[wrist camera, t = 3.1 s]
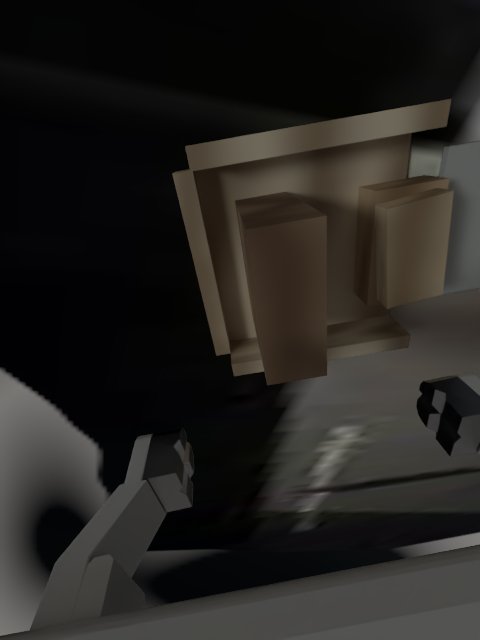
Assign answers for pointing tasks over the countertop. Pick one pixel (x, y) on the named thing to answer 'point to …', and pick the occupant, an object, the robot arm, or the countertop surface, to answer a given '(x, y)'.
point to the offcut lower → (367, 233)
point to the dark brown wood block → (286, 283)
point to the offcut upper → (412, 246)
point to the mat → (463, 216)
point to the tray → (313, 189)
